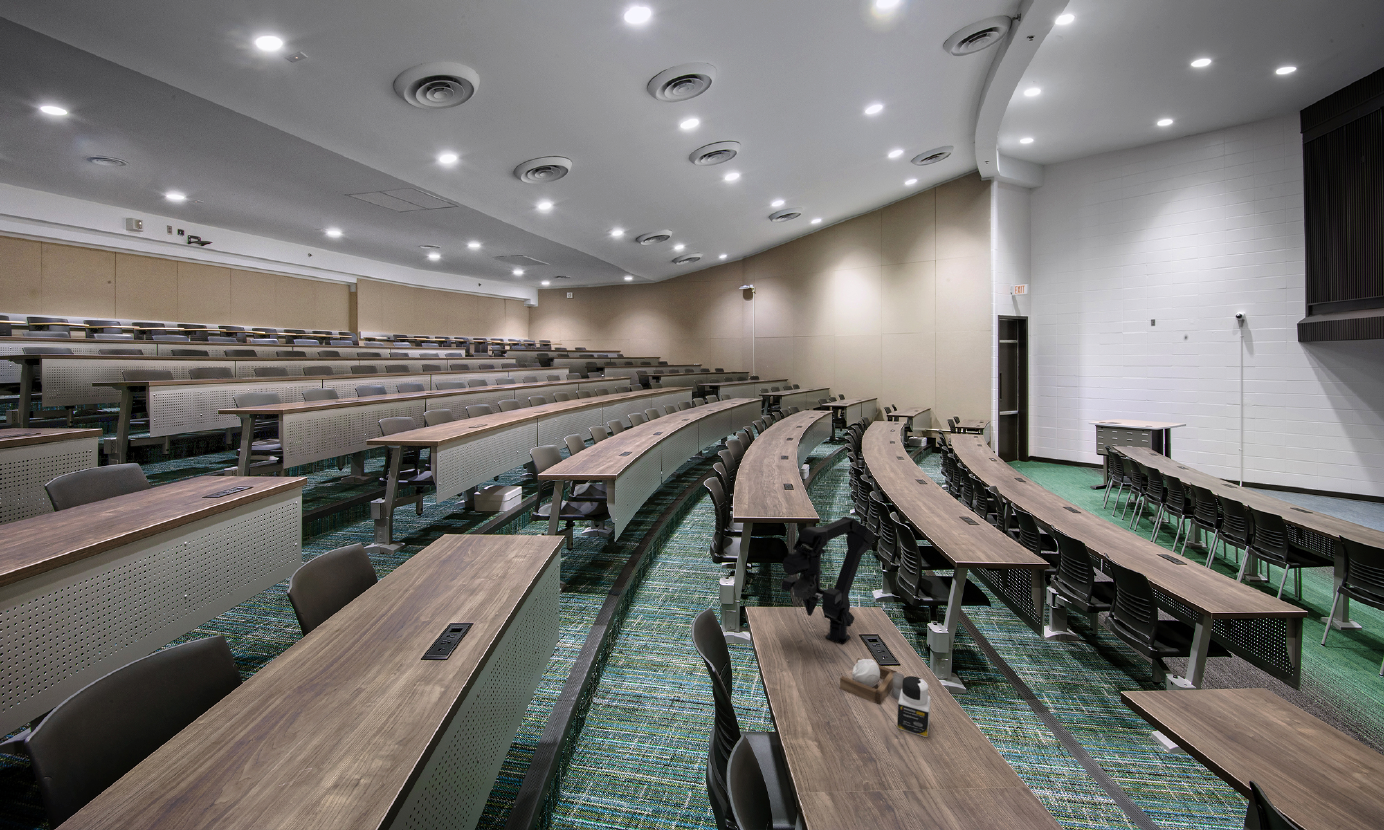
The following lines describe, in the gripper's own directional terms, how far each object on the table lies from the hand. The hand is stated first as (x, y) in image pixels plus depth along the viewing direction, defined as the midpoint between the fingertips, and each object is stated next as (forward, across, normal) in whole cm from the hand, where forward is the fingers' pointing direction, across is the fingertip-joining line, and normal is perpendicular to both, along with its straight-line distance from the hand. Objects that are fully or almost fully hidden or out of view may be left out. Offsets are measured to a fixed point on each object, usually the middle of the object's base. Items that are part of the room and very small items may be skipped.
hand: (809, 615), depth 170 cm
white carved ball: (+12, +21, -7) cm, 25 cm away
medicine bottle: (+12, +37, -16) cm, 42 cm away
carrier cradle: (+12, +24, -6) cm, 27 cm away
